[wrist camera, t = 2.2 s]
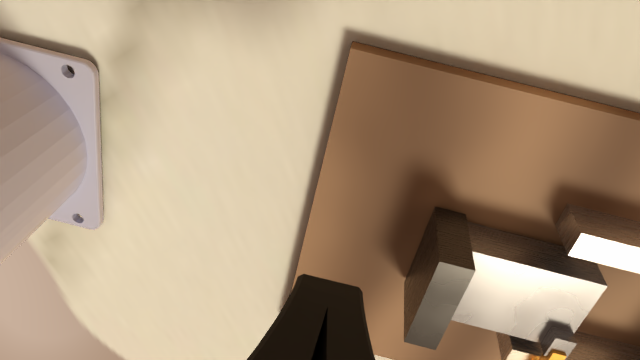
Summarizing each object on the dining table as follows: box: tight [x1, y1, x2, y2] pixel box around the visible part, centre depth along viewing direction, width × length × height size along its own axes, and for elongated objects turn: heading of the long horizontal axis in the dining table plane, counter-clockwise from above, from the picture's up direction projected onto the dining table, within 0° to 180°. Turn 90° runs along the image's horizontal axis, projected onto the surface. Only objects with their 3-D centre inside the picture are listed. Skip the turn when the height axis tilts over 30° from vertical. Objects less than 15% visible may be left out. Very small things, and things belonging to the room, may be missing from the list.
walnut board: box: [291, 42, 640, 360], centre depth 21 cm, size 18×14×1 cm
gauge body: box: [496, 203, 640, 360], centre depth 19 cm, size 8×7×3 cm
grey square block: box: [404, 206, 607, 360], centre depth 19 cm, size 6×6×3 cm
